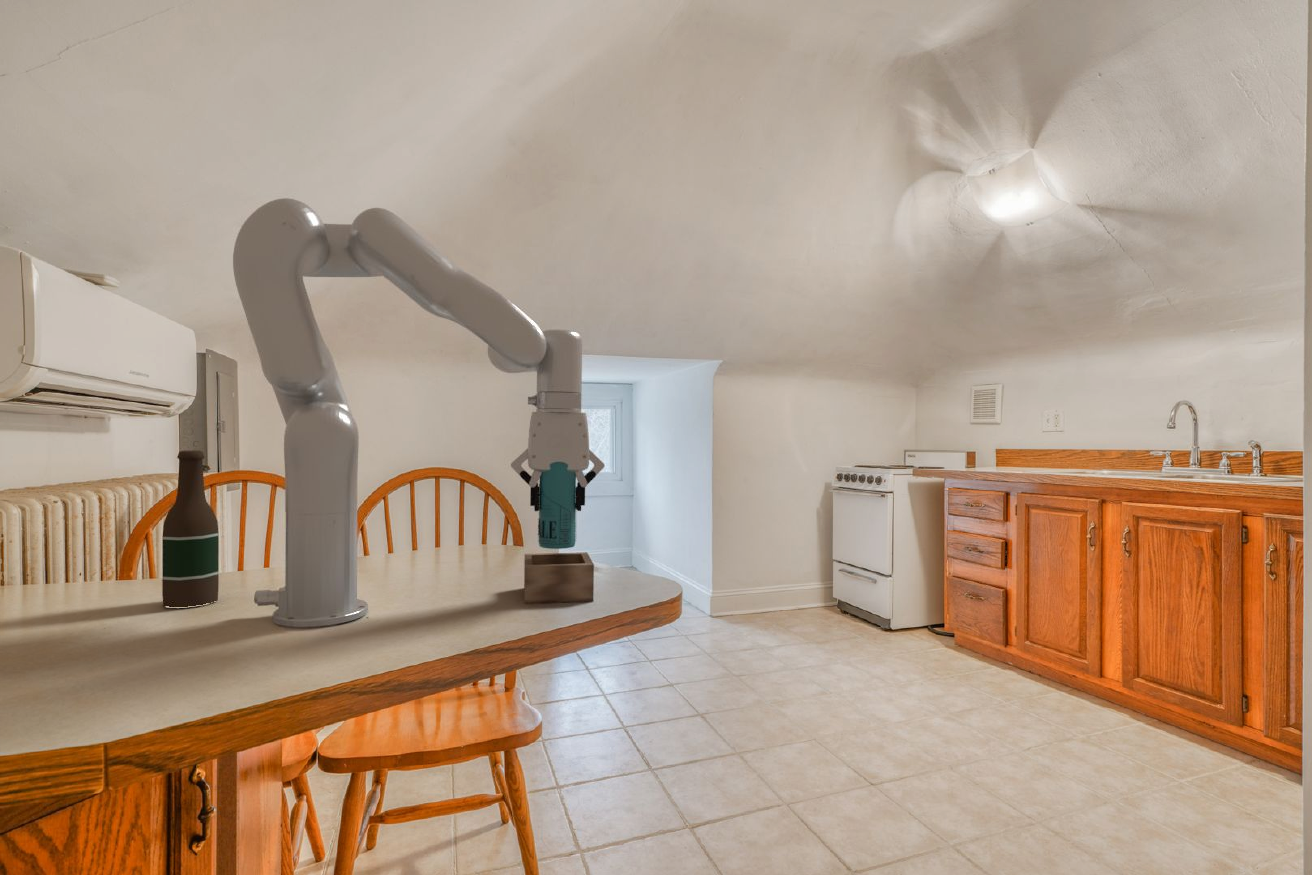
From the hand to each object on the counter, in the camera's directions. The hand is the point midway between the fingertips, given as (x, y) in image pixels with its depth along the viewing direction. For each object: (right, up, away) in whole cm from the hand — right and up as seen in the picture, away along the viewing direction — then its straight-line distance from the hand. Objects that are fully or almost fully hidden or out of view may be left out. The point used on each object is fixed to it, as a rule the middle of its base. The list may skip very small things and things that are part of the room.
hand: (557, 509), depth 115 cm
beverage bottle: (0, -8, 0) cm, 8 cm away
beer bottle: (-56, -14, -8) cm, 59 cm away
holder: (0, -14, 0) cm, 14 cm away
